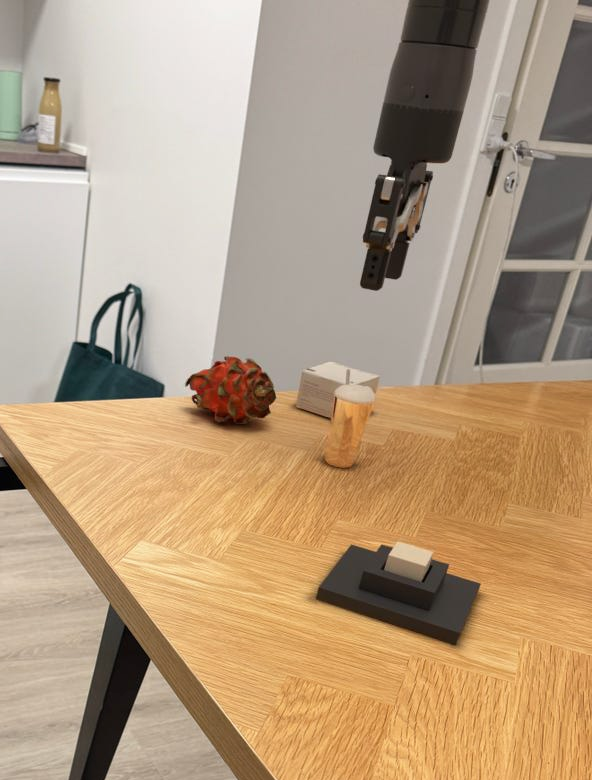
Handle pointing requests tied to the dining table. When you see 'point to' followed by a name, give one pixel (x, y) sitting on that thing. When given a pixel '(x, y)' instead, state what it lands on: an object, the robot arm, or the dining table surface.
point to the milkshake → (348, 422)
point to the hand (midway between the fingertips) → (380, 283)
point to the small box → (329, 386)
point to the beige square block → (408, 561)
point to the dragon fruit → (233, 390)
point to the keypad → (400, 594)
